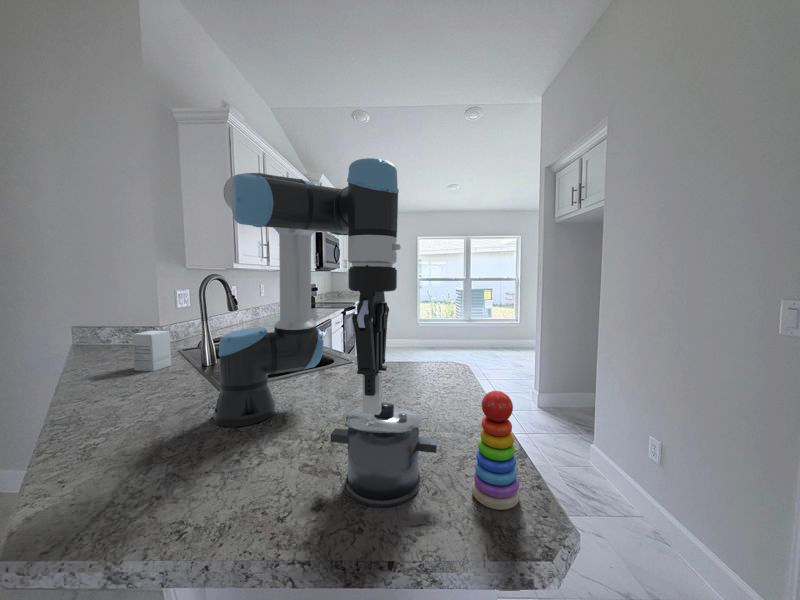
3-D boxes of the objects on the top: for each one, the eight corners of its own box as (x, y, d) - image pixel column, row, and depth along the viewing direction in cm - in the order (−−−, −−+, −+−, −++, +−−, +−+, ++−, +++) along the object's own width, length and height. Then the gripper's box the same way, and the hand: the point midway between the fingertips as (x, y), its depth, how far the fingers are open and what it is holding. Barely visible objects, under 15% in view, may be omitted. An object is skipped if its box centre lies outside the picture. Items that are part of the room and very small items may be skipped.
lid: (332, 432, 54) (333, 410, 54) (360, 412, 69) (360, 394, 69) (416, 441, 51) (416, 417, 52) (426, 417, 66) (426, 399, 66)
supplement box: (153, 364, 139) (151, 330, 138) (172, 365, 138) (170, 330, 137) (133, 370, 130) (131, 333, 129) (152, 371, 129) (151, 334, 128)
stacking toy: (466, 482, 60) (468, 383, 59) (507, 480, 61) (510, 382, 59) (480, 514, 52) (482, 400, 51) (528, 511, 53) (531, 398, 52)
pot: (318, 499, 55) (317, 442, 55) (346, 456, 69) (345, 410, 68) (432, 515, 52) (433, 455, 51) (439, 466, 65) (439, 418, 64)
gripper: (386, 264, 44) (385, 434, 45) (403, 266, 56) (402, 398, 58) (333, 264, 45) (334, 428, 47) (362, 266, 58) (362, 395, 60)
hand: (372, 412), depth 53 cm, fingers closed
